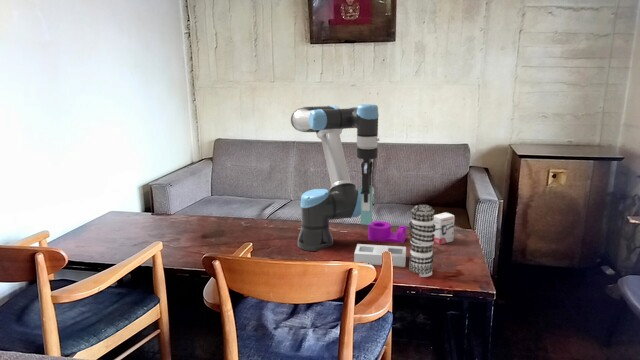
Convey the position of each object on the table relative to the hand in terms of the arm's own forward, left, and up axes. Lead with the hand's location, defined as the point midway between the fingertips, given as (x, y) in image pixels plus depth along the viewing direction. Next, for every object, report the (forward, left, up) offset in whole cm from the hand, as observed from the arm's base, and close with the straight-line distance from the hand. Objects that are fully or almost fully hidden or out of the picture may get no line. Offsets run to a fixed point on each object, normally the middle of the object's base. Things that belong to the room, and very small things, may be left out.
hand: (366, 208), depth 178 cm
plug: (0, 0, -6) cm, 6 cm away
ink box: (+30, +27, -22) cm, 46 cm away
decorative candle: (+21, -7, -22) cm, 31 cm away
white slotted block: (+6, 0, -21) cm, 22 cm away
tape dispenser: (+6, +26, -22) cm, 34 cm away
